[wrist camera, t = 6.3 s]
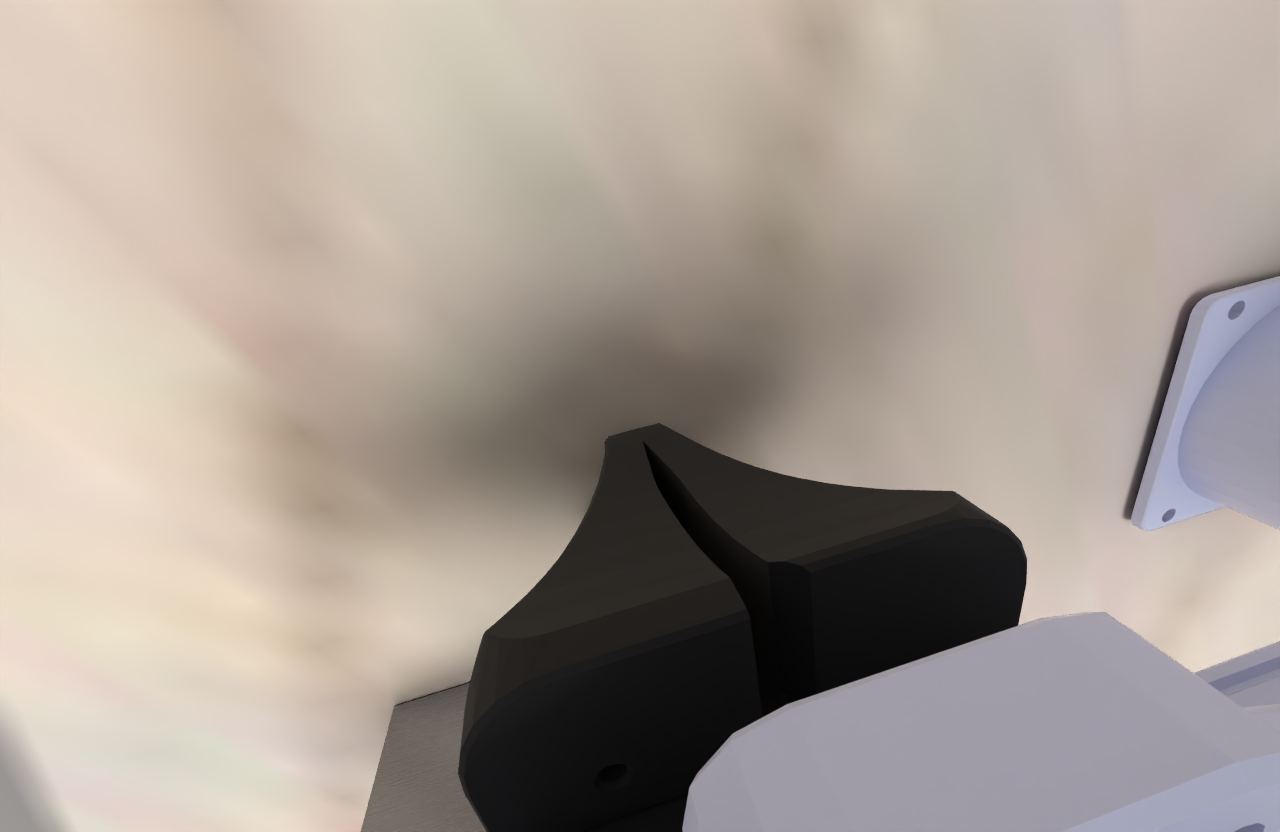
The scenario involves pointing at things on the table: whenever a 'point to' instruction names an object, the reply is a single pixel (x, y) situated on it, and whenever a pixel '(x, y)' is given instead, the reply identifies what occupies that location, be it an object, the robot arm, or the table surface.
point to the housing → (422, 769)
